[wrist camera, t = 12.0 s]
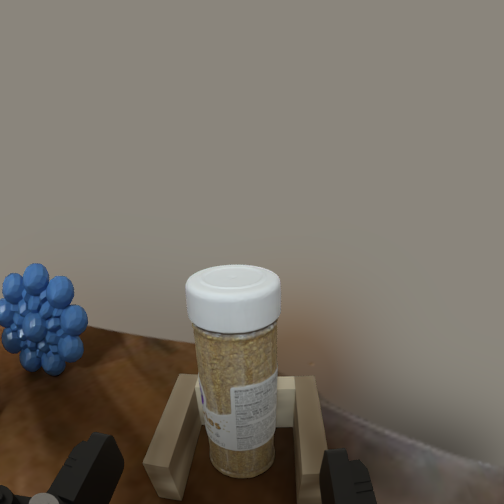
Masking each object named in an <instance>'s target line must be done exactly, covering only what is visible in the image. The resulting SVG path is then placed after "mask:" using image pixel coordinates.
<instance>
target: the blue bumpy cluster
mask: <svg viewBox="0 0 504 504" xmlns="http://www.w3.org/2000/svg"><path fill="white" fill-rule="evenodd" d="M2 293H3V296H4V298H2V299H0V325H1V326H3V327H5V329H4V331H3V333H2V344H3V346H4V348H5V349H6V350H7V351H8V352H10V353H12V354H14V353H18V352H19V351H21V352H20V355H19V356H20V363H21V365H22V366H23V368H24V369H26V370H27V371H30V372H35V371H37V370H38V369H39V368H40V367H41V366H42V367H43V369H44V371H45V372H46V373H47V374H49V375H52V376H55V375H59V374H60V373H61V372H63V371H64V368H65V366H66V363H65V361H66V362H69V363H71V362H76V361H77V360H78V359H80V358H81V357H82V354H83V352H84V347H83V343H82V341H81V339H80V338H79V335H80V334H81V333H82V332H84V331H85V329H86V327H87V324H88V318H87V314H86V312H85V310H84V309H83V308H82V307H80V306H79V305H70V303H71V301H72V299H73V297H74V287H73V285H72V282H71V281H70V280H69V279H68V278H67V277H65V276H55V277H54V278H53V279H51V280H50V282H49V274H48V272H47V270H46V268H45V267H44V266H43V265H42V264H31V265H30V266H28V267H27V268H26V270H25V272H24V274H23V277H22V276H21V275H19V274H17V273H11V274H9V275H8V276H7V277H6V278H5V280H4V282H3V290H2Z"/></svg>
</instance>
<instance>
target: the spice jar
mask: <svg viewBox="0 0 504 504" xmlns="http://www.w3.org/2000/svg"><path fill="white" fill-rule="evenodd" d="M185 289H186V302H187V312H188V317H189V319H190V320H191V321H192V326H193V329H194V338H195V346H196V356H197V363H198V370H199V372H198V378H199V385H200V392H201V399H202V406H203V413H204V420H205V427H206V431H207V434H208V439H209V444H210V452H209V453H210V460H211V462H212V464H213V466H214V467H215V468H216V469H217V470H218V471H220V472H221V473H222V474H224V475H227V476H230V477H233V478H252V477H255V476H257V475H259V474H262V473H264V472H265V471H266V470H268V469H269V468H270V466H272V464H273V461H274V459H275V448H274V432H275V427H276V407H277V373H278V364H277V355H276V354H277V345H276V344H277V320H278V317H279V315H280V313H281V283H280V279H279V277H278V276H277V275H276V274H275V273H274V272H272V271H270V270H268V269H265V268H262V267H258V266H251V265H223V266H216V267H211V268H207V269H204V270H201V271H199V272H197V273H195V274H193V275H192V276H190V277H189V279H188V280H187V282H186V285H185Z"/></svg>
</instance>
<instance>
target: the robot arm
mask: <svg viewBox="0 0 504 504" xmlns="http://www.w3.org/2000/svg"><path fill="white" fill-rule="evenodd" d="M68 457H69V458H67V460H66V461H65V463H64V466H62V468H61V470H60V471H59V473H58V475H57V476H56V478H55V480H54V482H53V483H52V485H51V487H50V488H49V490H48V491H47V492H46V493H39V494H36V495H34V496H33V497H25V496H19V495H14V494H13V493H12V492H11V491H10V490H9V489H8V488H7V487H5V486H3V485H0V504H109V502H110V500H111V498H112V495H113V493H114V491H115V488H116V486H117V484H118V481H119V479H120V477H121V474H122V472H123V469H124V459H123V456H122V454H121V452H120V450H119V448H118V446H117V444H116V441H115V439H114V437H113V436H111V435H107V434H103V433H98V432H94V433H92V434H91V436H90V438H89V439H88V441H87V442H86V441H82V442H81V443H79V444H78V445H77V446H75V447H74V448H73V450H72V452H71V453H70V455H69V456H68ZM319 485H320V493H321V501H322V504H377V502H376V498H375V494H374V492H373V487H372V483H371V480H370V476H369V472H368V469H367V468H366V467H365V465H364V464H363V463H362V462H361V461H360V460H353V461H349V459H348V455H347V451H346V449H345V448H340V449H331V450H325V451H324V454H323V459H322V464H321V468H320V473H319Z"/></svg>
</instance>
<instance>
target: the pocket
mask: <svg viewBox="0 0 504 504" xmlns="http://www.w3.org/2000/svg"><path fill="white" fill-rule="evenodd" d="M201 425H205V420H204V413H203V406H202V399H201V392H200V385H199V378H198V375H192V374H179V377H178V379H177V381H176V384H175V386H174V388H173V391H172V393H171V395H170V398H169V400H168V403H167V405H166V407H165V410H164V412H163V415H162V417H161V419H160V422H159V424H158V427H157V429H156V431H155V434H154V436H153V439H152V441H151V443H150V446H149V448H148V451H147V453H146V456H145V458H144V461H143V465H144V467H145V470H146V472H147V474H148V476H149V478H150V480H151V482H152V484H153V486H154V488H155V490H156V492H157V494H158V496H159V497H162V498H168V499H173V500H180V501H182V498H183V494H184V490H185V486H186V483H187V479H188V475H189V471H190V467H191V463H192V460H193V456H194V452H195V448H196V444H197V440H198V437H199V433H200V429H201ZM276 427H293V439H294V456H295V475H296V496H297V504H322V501H321V493H320V485H319V473H320V468H321V464H322V459H323V454H324V451H325V450H328V448H327V442H326V437H325V431H324V425H323V419H322V413H321V408H320V402H319V397H318V391H317V386H316V381H315V376H289V377H277V407H276Z"/></svg>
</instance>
